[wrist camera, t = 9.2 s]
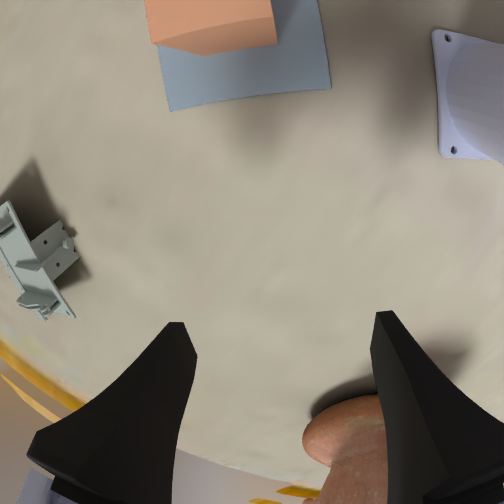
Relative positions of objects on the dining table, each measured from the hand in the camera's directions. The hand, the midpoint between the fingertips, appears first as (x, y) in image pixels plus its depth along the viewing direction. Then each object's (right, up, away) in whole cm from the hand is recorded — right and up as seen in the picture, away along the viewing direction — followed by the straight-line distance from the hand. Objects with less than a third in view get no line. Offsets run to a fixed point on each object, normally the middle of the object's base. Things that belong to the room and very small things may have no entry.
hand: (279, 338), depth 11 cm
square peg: (-2, +16, +1) cm, 16 cm away
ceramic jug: (+13, -16, +20) cm, 28 cm away
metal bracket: (-22, +3, +12) cm, 25 cm away
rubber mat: (-2, +15, +2) cm, 16 cm away
